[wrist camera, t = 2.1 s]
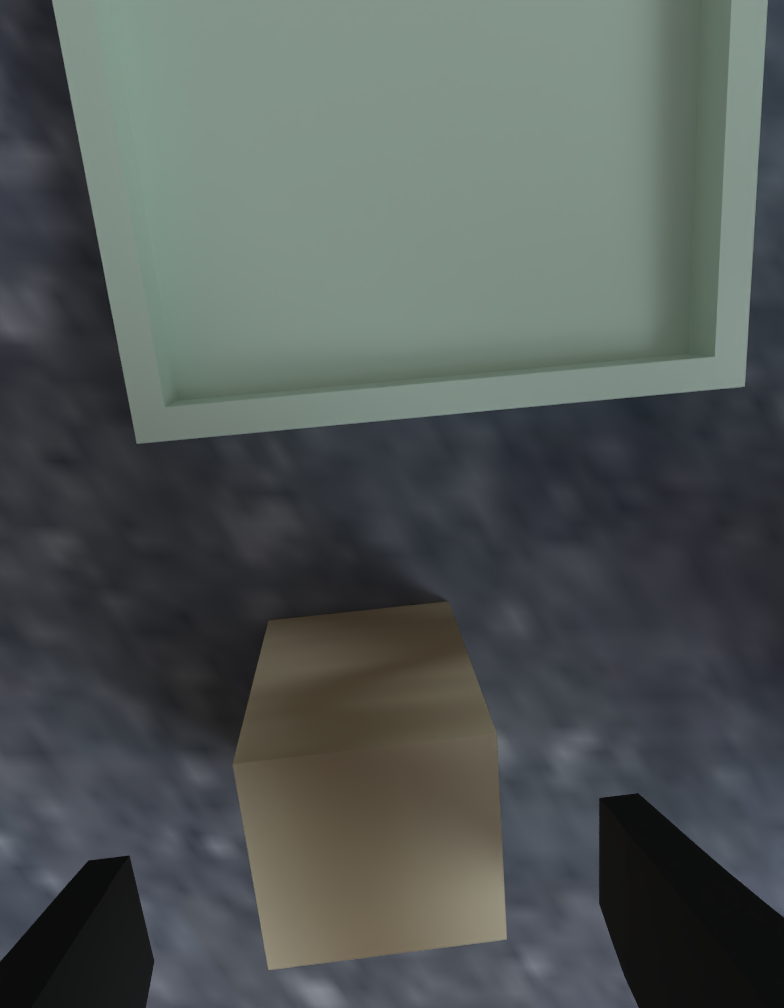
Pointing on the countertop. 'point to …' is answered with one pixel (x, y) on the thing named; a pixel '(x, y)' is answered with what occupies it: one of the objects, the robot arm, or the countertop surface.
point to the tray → (416, 202)
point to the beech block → (370, 788)
